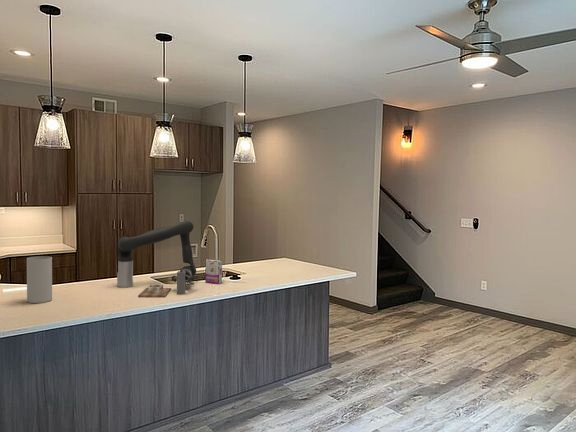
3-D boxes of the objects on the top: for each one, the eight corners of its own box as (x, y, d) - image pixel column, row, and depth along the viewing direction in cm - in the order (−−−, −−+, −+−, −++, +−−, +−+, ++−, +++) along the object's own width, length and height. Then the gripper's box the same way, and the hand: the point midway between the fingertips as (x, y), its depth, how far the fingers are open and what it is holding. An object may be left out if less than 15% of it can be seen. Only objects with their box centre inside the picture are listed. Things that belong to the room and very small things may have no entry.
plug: (176, 294, 268) (177, 267, 267) (177, 292, 272) (178, 266, 271) (184, 294, 268) (184, 267, 267) (185, 292, 273) (185, 266, 272)
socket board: (138, 297, 258) (138, 289, 258) (146, 289, 278) (146, 282, 278) (165, 297, 260) (165, 289, 259) (171, 289, 280) (171, 282, 279)
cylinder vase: (49, 303, 240) (48, 259, 239) (24, 304, 237) (23, 259, 235) (54, 297, 252) (54, 256, 251) (30, 298, 249) (30, 256, 247)
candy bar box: (222, 283, 304) (222, 260, 303) (218, 284, 300) (219, 261, 299) (208, 281, 308) (209, 259, 307) (205, 282, 303) (205, 260, 302)
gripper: (174, 270, 287) (170, 274, 271) (196, 270, 288) (193, 274, 272) (174, 280, 287) (170, 286, 271) (195, 281, 288) (192, 286, 272)
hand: (181, 280), depth 271 cm, fingers open, 8 cm apart
